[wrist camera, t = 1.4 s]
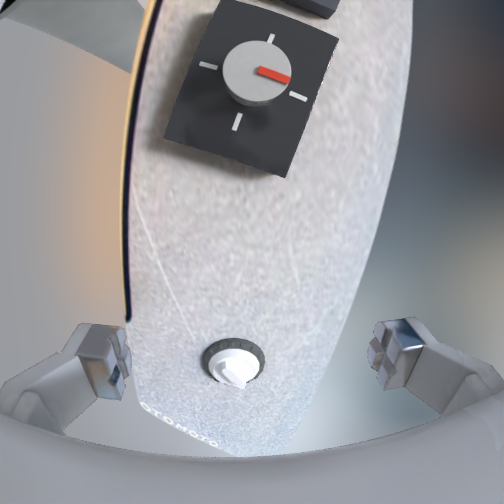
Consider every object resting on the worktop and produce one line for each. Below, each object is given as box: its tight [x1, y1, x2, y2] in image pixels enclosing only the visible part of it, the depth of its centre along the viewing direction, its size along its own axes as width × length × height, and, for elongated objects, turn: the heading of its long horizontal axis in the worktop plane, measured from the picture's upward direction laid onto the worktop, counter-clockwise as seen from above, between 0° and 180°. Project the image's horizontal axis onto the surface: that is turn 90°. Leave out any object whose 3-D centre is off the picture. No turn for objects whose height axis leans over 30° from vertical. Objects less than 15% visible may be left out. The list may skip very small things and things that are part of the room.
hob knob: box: [223, 41, 291, 107], centre depth 17 cm, size 4×4×4 cm
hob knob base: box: [164, 0, 339, 178], centre depth 21 cm, size 10×13×3 cm
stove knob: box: [203, 338, 265, 389], centre depth 32 cm, size 7×7×3 cm
